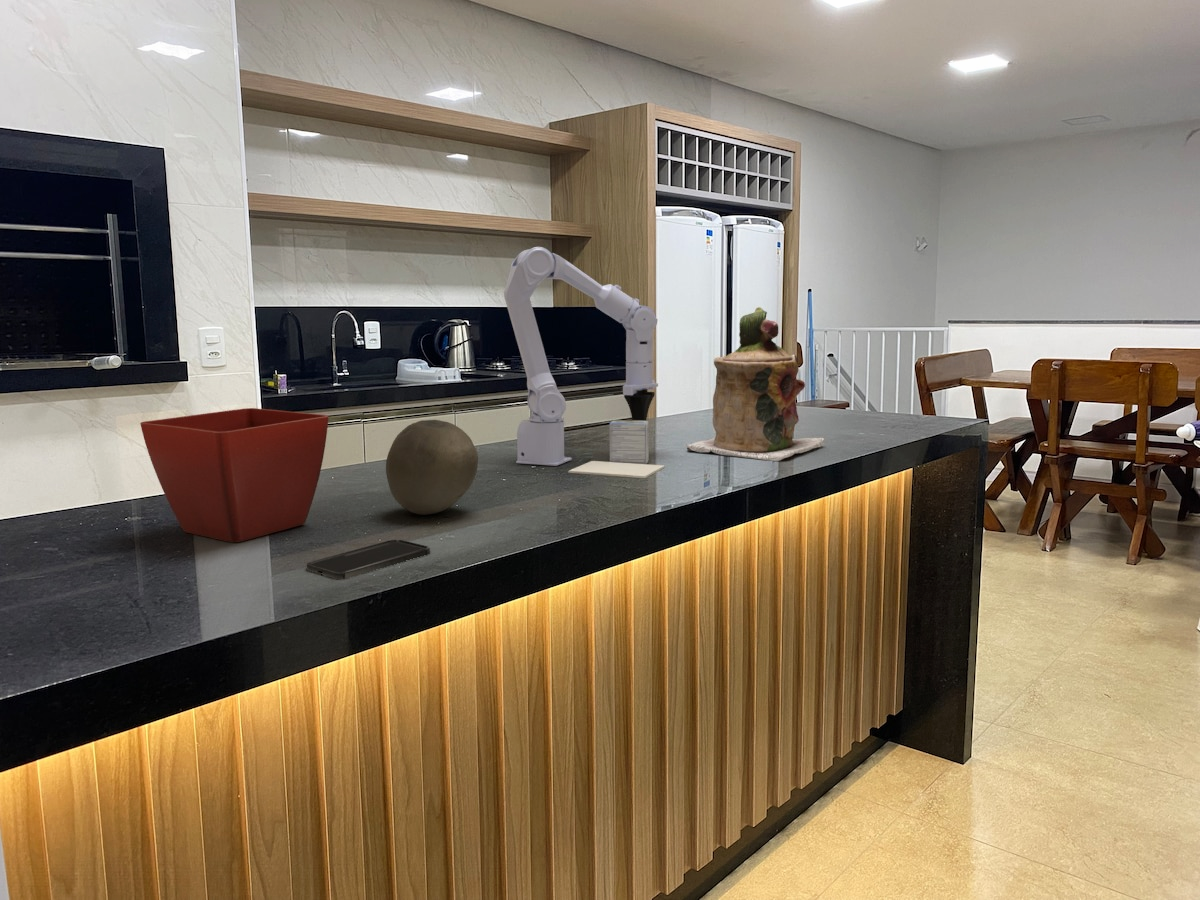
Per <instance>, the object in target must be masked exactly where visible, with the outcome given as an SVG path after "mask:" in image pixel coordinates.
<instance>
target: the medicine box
mask: <svg viewBox="0 0 1200 900" xmlns="http://www.w3.org/2000/svg"><path fill="white" fill-rule="evenodd" d="M649 423H650V421H648V420H646V421H639V420H629V419H627V420H620V419H619V420H612V421H610V422H609V462H618V463H633V464H648V463H649V459H650V456H649V455H650V454H649V453H650V452H649V449H650V448H649V446H650V445H649V443H650V442H649V438H650V437H649V432H650V431H649V429H650V428H649Z"/></svg>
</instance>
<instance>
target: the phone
mask: <svg viewBox="0 0 1200 900" xmlns="http://www.w3.org/2000/svg"><path fill="white" fill-rule="evenodd" d="M428 554H429V555H430V554H431V547H430V546H428V545H424V544H420V543H415V542H411V541H407V540H403V539H390V540H386V541H382V542H380V543H376V544H375V543H374V544H371V545H367V546H364V547H359V548H357V549H352V550H348V551H344V552H341V553H336V554H334V555H330V556H327V557H323V558H319V559H315V560H312V561H308V562H306V570H307V571H309V572H311V571H312V572H311V573H314V572H315V573H314V574H317V573H318V575H321V574H322V575H321V576H324V575H325V576H324V577H328V578H331V577H332V578H331V579H334V578H336V579H335V580H346V579H350V577H351V578H353V576H354V577H358V576H360V574H361V575H364V574H367V573H366V572H368V573H371V572H374V571H373V570H375V571H377V570H376V569H378V570H381V569H380V568H382V569H384V567H385V568H387V566H388V567H391V566H390V565H392V566H394V564H395V565H398V564H397V563H399V564H401V563H400V562H402V563H404V562H403V561H405V562H407V561H406V560H409V561H411V560H410V559H412V560H414V559H413V558H416V559H418V558H417V557H419V558H421V557H420V556H422V557H425V556H424V555H426V556H428ZM370 571H371V572H370ZM363 573H364V574H363ZM357 575H358V576H357Z"/></svg>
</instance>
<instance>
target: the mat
mask: <svg viewBox="0 0 1200 900" xmlns="http://www.w3.org/2000/svg"><path fill="white" fill-rule="evenodd" d="M664 468H666V466H665V465H660V464H648V463H647V464H633V463H618V462H610V461H602V460H601V461H600V460H599V461H598V460H590V461H588V462H586V463H583V464H581V465H579V466H576V467H574V468H572V469H570V470H568V471H567V473H568V474H579V475H581V474H582V475H595V476H606V477H607V476H608V477H623V478H634V479H636V478H637V479H646V478H649V477H650V476H652V475H653V474H655V473H658V472H659V471H661V470H663V469H664Z"/></svg>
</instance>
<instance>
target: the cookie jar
mask: <svg viewBox="0 0 1200 900" xmlns="http://www.w3.org/2000/svg"><path fill="white" fill-rule="evenodd" d="M767 315H768V312H767V311H765V310H764V309H763V308H762V307H760V306H758V307H756V308H755V311H754V312H751V313H748V314H745V315H742V316H741V318H740V321H739V334H738V335H739V336H738V337H739V344H740V345H739V347H738V348H737V349H736V350H734V351H733V352H732V353H728V354H727V355H726V356H720V357H719V356H718V357H714V359H713V365H714V367H715V369H716V376H715V388H714V394H713V397H712V426H713V429H714V431H715V436H714V437H713V438H710V439H706V440H699V441H696V442H692V443H689V444H685V448H686V451H687V452H690V451H693V452H697V453H713V454H717V455H721V456H729V457H737V458H738V457H739V458H747V459H755V460H763V461H769V460H771V461H770V462H779V461H782V460H784V459H786V458H789V457H793V456H794V455H795V454H802V453H805V452H809V451H811V450H814V449H817V448H821V447H823V445H824V442H825V438H824V437H805V438H793V435H794V433H795V432H794V431H795V427H796V425H797V424H798V423H799V421H800V419H799V415H798V410H797V409H798V408H797V404H796V397H797V396H798V395H799V394H800V392H802V391H803V390H804V389H805V387H806V383H805V382H804V381H803V379H797V375H798V373H799V369H800V368H799V364H798V362H799V361H798V357H797V355H796V354H792V355H791V354H790V355H789V354H788V353H787V352H786V351H785V350H784V348H783V347H781V346H779V345H777V344H776V342H774V341H773V339H774V338H777V337H778V335H779V324H778V323H777V322H776V321H773V320H769V319H767Z"/></svg>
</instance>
